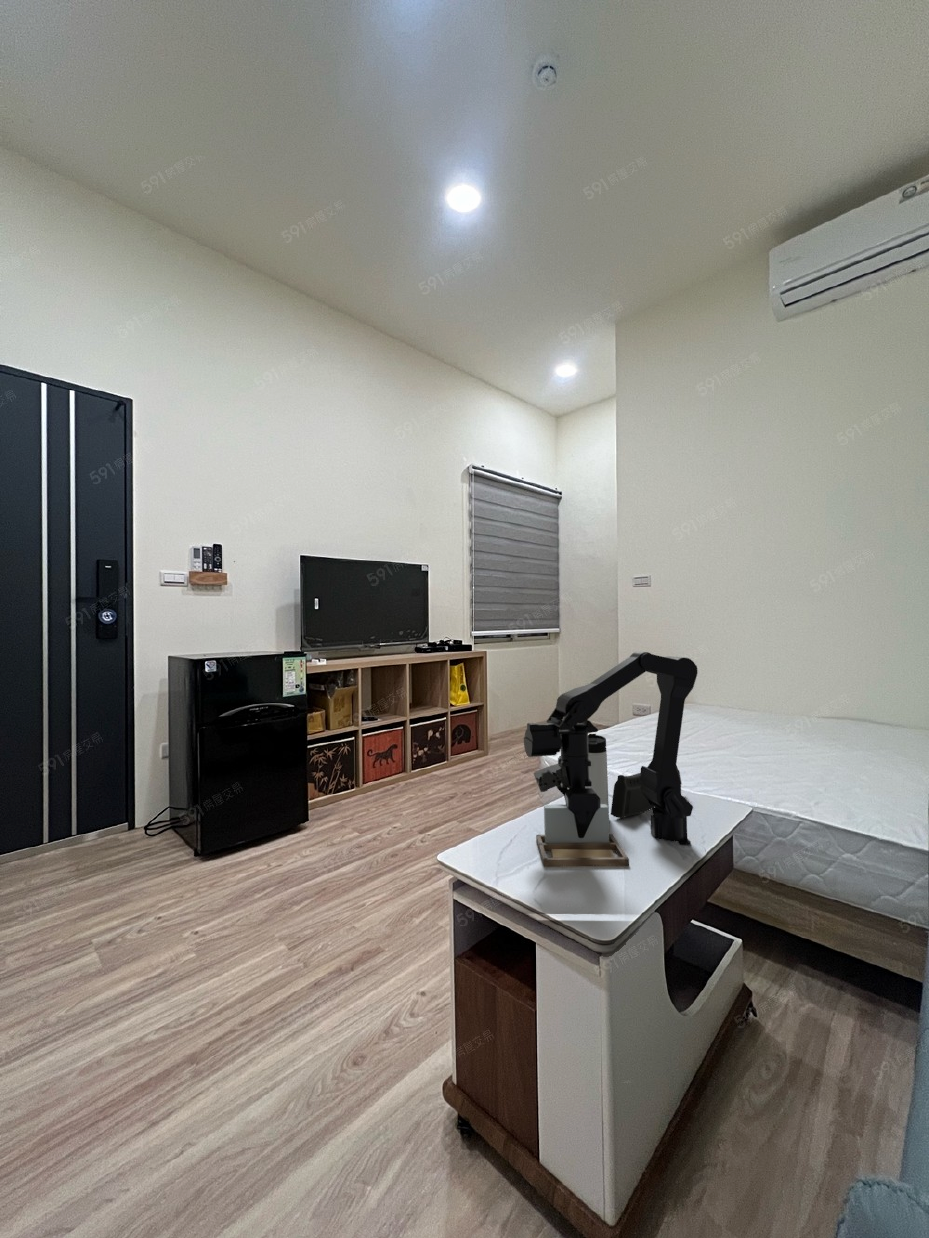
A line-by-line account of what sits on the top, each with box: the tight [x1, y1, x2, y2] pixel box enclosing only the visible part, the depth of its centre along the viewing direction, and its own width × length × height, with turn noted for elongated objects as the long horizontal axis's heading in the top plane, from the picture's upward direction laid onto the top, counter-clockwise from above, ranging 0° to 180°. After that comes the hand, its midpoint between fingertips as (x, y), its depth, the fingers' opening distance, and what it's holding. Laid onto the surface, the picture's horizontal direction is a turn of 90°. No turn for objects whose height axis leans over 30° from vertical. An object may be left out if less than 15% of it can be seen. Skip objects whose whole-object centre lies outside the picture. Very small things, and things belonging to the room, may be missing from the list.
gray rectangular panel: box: [543, 804, 610, 843], centre depth 106 cm, size 13×2×9 cm, turn 89°
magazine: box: [610, 764, 683, 819], centre depth 131 cm, size 17×3×30 cm
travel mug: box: [585, 733, 610, 818], centre depth 123 cm, size 6×7×20 cm
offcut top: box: [550, 849, 616, 858], centre depth 101 cm, size 12×4×1 cm, turn 85°
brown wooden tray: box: [535, 833, 630, 868], centre depth 103 cm, size 16×12×2 cm
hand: (576, 828), depth 106 cm, fingers open, 9 cm apart
